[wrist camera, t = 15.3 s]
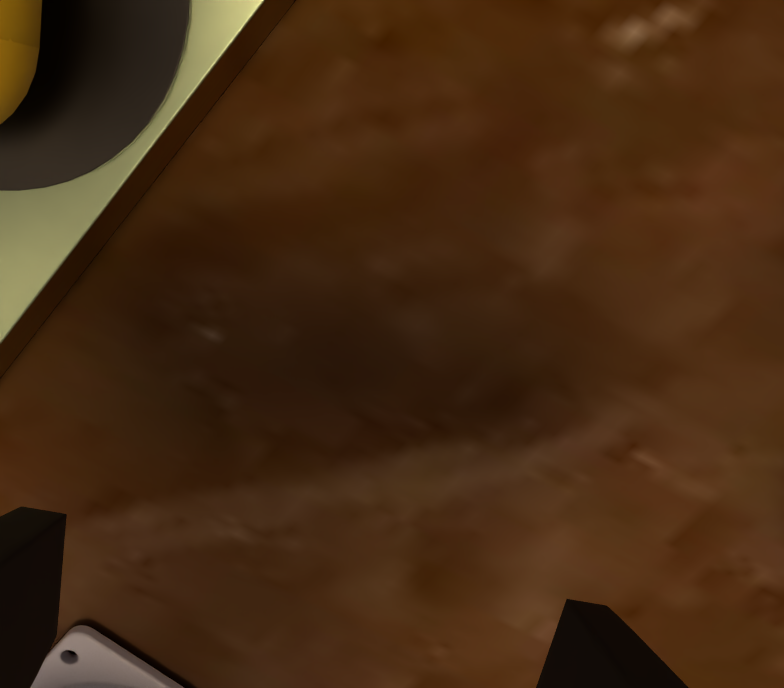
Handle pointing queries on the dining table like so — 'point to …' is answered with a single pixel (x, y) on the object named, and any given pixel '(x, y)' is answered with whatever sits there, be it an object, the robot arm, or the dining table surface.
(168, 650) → the dining table surface
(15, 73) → the lemon
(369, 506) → the dining table surface
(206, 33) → the hob
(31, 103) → the burner
